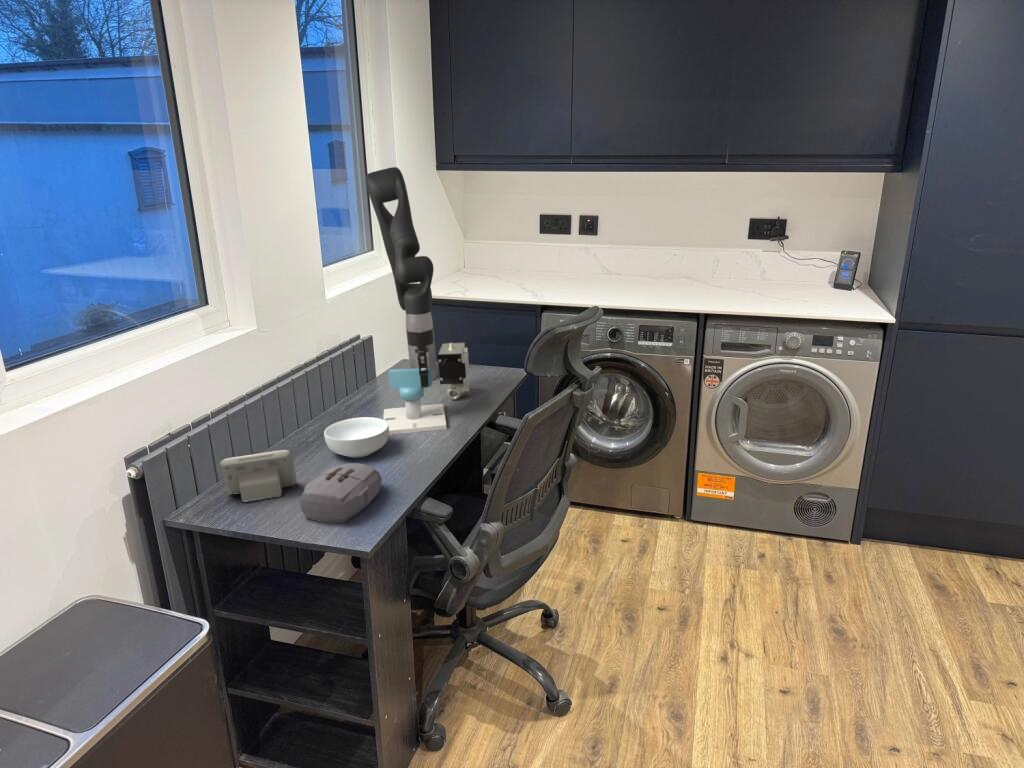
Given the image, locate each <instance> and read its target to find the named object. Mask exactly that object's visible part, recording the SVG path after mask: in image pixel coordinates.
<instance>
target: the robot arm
mask: <svg viewBox="0 0 1024 768" xmlns="http://www.w3.org/2000/svg"><path fill="white" fill-rule="evenodd" d="M365 186H366V189H367V190H366V191H367V192H368V193H367V194H368V195H369V198H370V201H371V205H372V207H373V210H374V213H375V215H376V219H377V222H378V225H379V229H380V233H381V237H382V240H383V241H382V242H383V245H384V249H385V253H386V255H387V256H386V257H387V259H388V262H389V264H390V268H391V272H392V275H393V280H394V285H395V290H396V295H397V299H398V300H397V301H398V304H399V306H400V308H401V309H402V310H403V311H404V312H405V330H406V341H407V352H408V362H409V369H414V368H419V374H420V380H421V387H422V388H423V389H424V388H429V387H428V386H429V383H428V374H429V372H428V368H431V377H432V381H434V380H435V379H437V378H438V367H437V355H436V344H435V333H434V331H435V330H434V316H433V315H434V314H433V313H434V312H433V294H432V293H433V292H432V288H431V285H432V282H433V281H432V280H433V276H434V270H435V269H434V268H435V267H434V264H433V261H432V260H431V258H430V257H428V256H426V255H419V256H416V255H417V254H418V253H420V249H421V245H420V242H419V239H418V236H417V232H416V229H415V226H414V222H413V216H412V211H411V206H410V205H411V203H410V199H409V195H408V190H407V184H406V182H405V179H404V176H403V172H402V171H401V170H400V168H399V167H397V166H393V167H392V166H391V167H387V168H383V169H379V170H375V171H371V172H369V173H367V174H366V175H365ZM393 201H397V207H396V210H395V213H394V215H393V214H392V213H391V212H390V211H389V210H388V208H387V207H386V206H385V203H388V202H390V203H391V202H393ZM421 368H426V371H421Z"/></svg>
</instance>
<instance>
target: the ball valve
mask: <svg viewBox="0 0 1024 768" xmlns="http://www.w3.org/2000/svg"><path fill="white" fill-rule="evenodd" d="M469 356H470V355H469V348H468V347H466V342H464V341H463V342H461V341H459V342H442V344H441V347H440V349H439V351H438V354H437V363H438V374H439V376H438V377H439V384H440V385H448V387H447V388H446V395H447V398H449V399H450V400H454V401H456V400H458V399H460V397H466V396H470V393H471V392H470V390H471V389H470V387H471V386H470V382H465V379H466V378H467V376H468V371H469V368H470V358H469Z"/></svg>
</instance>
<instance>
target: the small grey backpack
mask: <svg viewBox="0 0 1024 768" xmlns="http://www.w3.org/2000/svg"><path fill="white" fill-rule="evenodd" d="M382 479H383V478H382V477H381V474H380V472H379V471H378V470H377V469H376V468H375V467H373V466H371V465H366V464H362V463H355V462H354V463H344V464H340V465H336V466H333V467H331V468H328V469H327V470H325V471H323V472H322V473H321V474H319V475H318V477H316V478H314V479H312V480H311V481H310V482H308V484H306V485H305V487H304V490H303V493H302V495H301V497H300V506H299V507H300V509H301V511H302V513H303V515H304V516H305V517H306V518H307V519H310V518H311V519H310V520H312V519H314V520H313V521H316V520H320V521H319V522H321V521H324V522H323V523H329V522H332V523H331V524H338V523H344V522H346V521H348V520H350V519H351V518H353V517H355V516H357V515H358V514H359V513H360V512H361V511H362V510H365V508H366V507H368V505H370V503H371V502H372V501H373V500H374V498H375V497H376V496H377V495H378V494H379V493H380V491H381V485H382V481H383V480H382Z"/></svg>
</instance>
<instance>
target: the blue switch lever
mask: <svg viewBox="0 0 1024 768" xmlns="http://www.w3.org/2000/svg"><path fill="white" fill-rule="evenodd" d="M421 371H426V368H421ZM387 372H388V373H387V375H388V383H389V389H398V391H399V392H398V393H399V397H400V399H401V400H404V401H405V400H415V399H419V398H420V399H422V398H423V397H424V396H425V392H424V388H422V387H421V380H420V374H419V368H414V369H410V368H395V369H394V368H393V369H392V368H391V369H389V370H388V371H387ZM428 372H429V374H428V383H429V386H428V387H427V388H429V387H430V388H431V387H432V385H433V380H432V377H431V368H428Z"/></svg>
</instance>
